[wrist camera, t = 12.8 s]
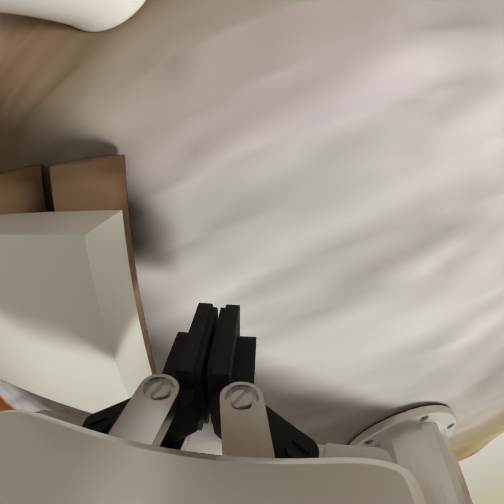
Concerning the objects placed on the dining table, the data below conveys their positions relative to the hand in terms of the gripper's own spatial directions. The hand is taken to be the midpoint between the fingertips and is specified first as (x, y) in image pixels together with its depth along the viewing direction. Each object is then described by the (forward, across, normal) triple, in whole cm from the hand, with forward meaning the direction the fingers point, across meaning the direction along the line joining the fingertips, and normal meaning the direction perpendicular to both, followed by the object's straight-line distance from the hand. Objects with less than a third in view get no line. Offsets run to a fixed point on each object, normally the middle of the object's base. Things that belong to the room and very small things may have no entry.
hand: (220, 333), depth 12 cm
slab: (+1, +11, 0) cm, 11 cm away
